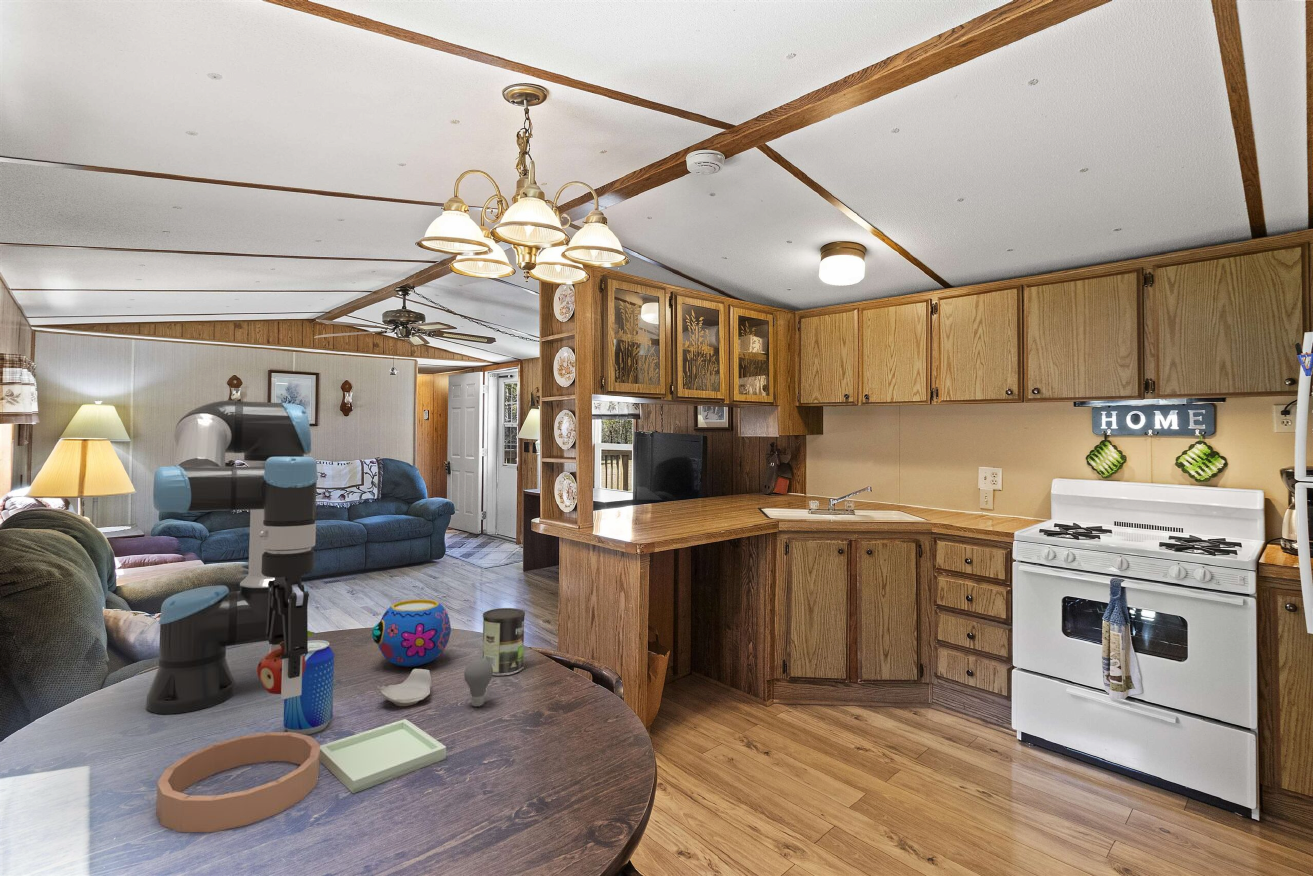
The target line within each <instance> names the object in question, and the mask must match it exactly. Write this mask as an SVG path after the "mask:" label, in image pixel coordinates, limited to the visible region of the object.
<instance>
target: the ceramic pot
mask: <svg viewBox="0 0 1313 876" xmlns="http://www.w3.org/2000/svg"><path fill="white" fill-rule="evenodd" d="M450 621H451V620H450V617H449V614H448V612H447V610H446V609H445V607H444V606H443V605H442V604H441V603H440V602H439V601H436V600H434V599H433V600H432V599H422V598H421V599H410V600H409V599H407V600H403V601H398V602H396V603H394V604H392V605H390V607H388V608H387V609H386V610H385V611H384V614H382V616H381V619H380V620H379V622H378V623H376V624H375V625H374V626H373V628H372V630H371V638H372V640H373V642H374V643H376V645H378V649H379V651H380V653H381V654H382V656H383V658H384V659H385V660H386V661H388V662H389V663H391V664H393V665H396V666H399V667H410V668H411V667H418V666H422V665H425V664H429V663H430V662H432V661H434V660H435V659H437V658H438V657H440V656H441V654H443V652H444V651H445V649H446V647H447V645H448V643H449V640H450V638H451V637H450V636H451V631H452V627H451V622H450Z"/></svg>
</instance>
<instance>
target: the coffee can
mask: <svg viewBox="0 0 1313 876" xmlns="http://www.w3.org/2000/svg"><path fill="white" fill-rule="evenodd" d="M525 615H526V612H525V610H523V609H519V608H515V607H513V608H512V607H502V608H492V609H489V610H486V611H484V612H483V613H482V619H483V620H482V622H483V623H482V655H481V656H482V657H481V658H483V659H486V660H487V661H488V662H490V664H491V665H492V668H493V674H505V673H511V672H514V671H517V670H519V669H521V668H522V667H523V668H524V648H525V647H524V643H525V640H524V639H525Z"/></svg>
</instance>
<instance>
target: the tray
mask: <svg viewBox="0 0 1313 876" xmlns="http://www.w3.org/2000/svg"><path fill="white" fill-rule="evenodd" d="M446 759H447V746H446V745H444V744H443V743H441V742H440V741H438V740H437V739H435V738H434V737H433V736H431V735H429V733H427V732H425V731H424V730H422V729H421V728H419V727H418V726H417V725H415V724H414V723H412V722H410V720H408V719H406V718H403V719H402V720H399V721H398V720H397V721H395V722H392V723H388V724H386V725H381V726H378V727H376V728H373V729H369V730H366V731H363V732H360V733H357V734H353V735H350V736H346V737H344V738H340V739H337V740H334V741H331V742H328V743H325V744H320V762H321V763H322V764H323V765H324V766H325V768H327V769H328V771H330V772H331V774H333V775H334V776H335V777H336V778H337V779H338V780H339V781H340V782H341V783H342V785H344V786H345V787H346V788H347V789H348V790H349V791H350V792H351V793H352V794H355V793H358V792H362V791H364V790H366V789H369V788H372V787H375V786H377V785H379V784H382V783H384V782H388V781H390V780H394V779H396V778H398V777H401V776H403V775H406V774H408V773H409V774H410V773H411V772H414V771H417V770H419V769H422V768H424V767H427V766H430V765H432V764H435V763H438V762H441V761H443V760H446Z"/></svg>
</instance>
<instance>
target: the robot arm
mask: <svg viewBox="0 0 1313 876" xmlns="http://www.w3.org/2000/svg"><path fill="white" fill-rule="evenodd" d="M311 433H312V432H311V427H310V420H309V415H308V412H307V411H306V409H305V407H304V406H302V405H299V404H296V403H295V404H294V403H287V402H266V401H243V400H242V401H241V400H228V399H227V400H220V401H214V402H210V403H206V404H203V405H202V406H198V407H196V408H194V409H191V411H189V412H187V413H186V414H185V415H183V416H182V417H181V418H180V419H179V421H178V422H177V424H176V425H175V429H174V433H173V439H174V442H175V444H176V446H177V450H176V453H175V459H174V463H173V465H172V466H161V467H158V468H156V470H155V471H154V474H153V475H154V476H153V485H152V486H153V490H152V498H153V499H152V500H153V501H152V502H153V504H152V505H153V507H154V509H155V510H156V511H157V512H160V513H180V514H185V513H193V512H195V513H197V512H214V511H215V512H217V511H219V512H220V511H221V512H222V511H246V510H247V511H249V510H250V516H249V517H250V521H249V544H248V545H249V549H248V574H247V575H246V577H245V578H244V579H242V580H241V581H240V583H239V590H238V591H230V590H229V588H228V586H226V585H223V584H221V585H208V586H202V587H196V588H193V589H189V590H184V591H182V592H181V591H180V592H178V593H176V594H173V595H170V596H169V597H168V598H166V599H165V600H164V601H163V602H162V604H161V607H160V616H159V617H160V618H159V620H158V624H159V647H158V668H157V671H156V674H155V676H154V678H153V681H152V683H151V685H150V688H149V690H148V693H147V695H146V705H145V708H146V710H147V711H148V712H151V713H154V714H167V715H169V714H181V713H187V712H193V711H198V710H202V709H206V708H210V707H212V706H216V705H218V704H220V703H222V702H224V701H226V700H227V701H228V699H230V698H231V697H232V696H233V695H234V693H235V679H234V677H233V674H232V672H231V668H230V666H229V663H228V661H227V659H226V657H227V655H226V653H227V647H232V646H241V645H245V644H246V645H247V644H255V643H261V642H268V643H269V653H271V652H273V651H275V650H277V649H281V646H280V645H279V643H281V642H282V641H283V642H284V649H285V654H284V655H281V656H280V659H282V685H281V694H280V698H281V700H284V699H286V698H290V697H295V696H299V695H301V690H302V657H303V654H307V653H308V641H309V639H308V638H309V636H308V631H309V629H308V605H309V604H308V603H309V597H310V594H309V591H308V590H307V589H308V588H307V586H306V585H304V584H302V577H303V576H304V575H308V574H311V573H312V572H313V571H314V570H315V553H316V552H315V550H314V549H313V547H315V546H316V536H317V535H316V533H317V531H316V529H317V528H316V527H317V521H316V505H317V485H318V483H317V481H318V480H319V475H318V466H317V465H318V464H317V460H316V459H315V458H313V457H311V456H304V455H309V454H311V452H312V434H311ZM226 454H243V456H244V457H243V462H244V463H245V464H246V465H247V466H232V465H231V466H226ZM297 647H298V648H297ZM269 653H268V654H269Z"/></svg>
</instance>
